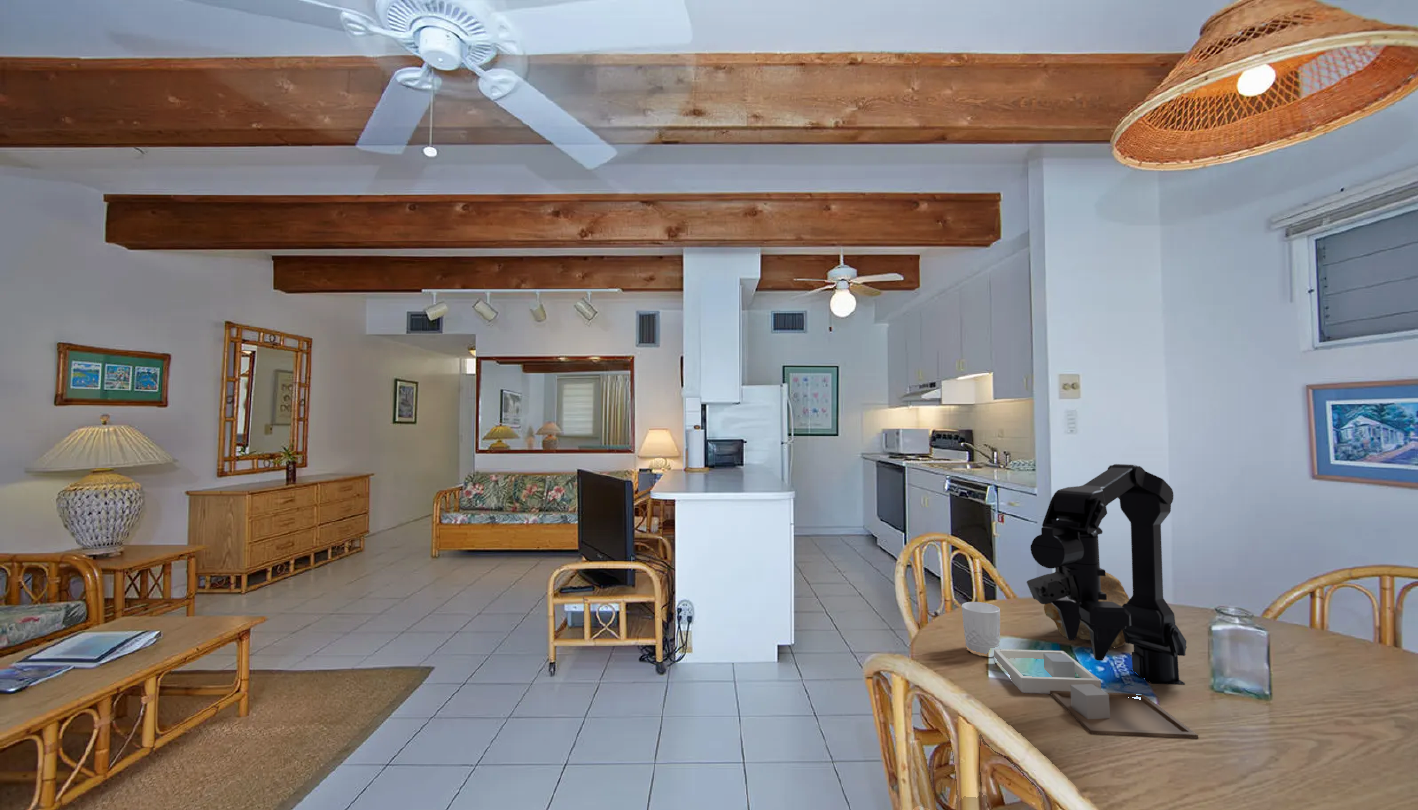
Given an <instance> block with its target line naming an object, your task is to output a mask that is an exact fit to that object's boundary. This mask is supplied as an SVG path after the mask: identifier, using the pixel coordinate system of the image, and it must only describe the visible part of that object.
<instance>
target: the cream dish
mask: <svg viewBox="0 0 1418 810" xmlns="http://www.w3.org/2000/svg"><path fill="white" fill-rule="evenodd" d="M1043 653H1050V654H1065V655H1066V656H1068V657H1069V658H1070V659H1071V660H1073V661H1074V663H1075V672H1076V674H1078V676H1079V677H1081V678H1065V677H1032V676H1023V675H1022V674H1021V673H1020V672H1019V671H1018V670H1017V669H1016V668H1015V667H1014V666H1013V665H1012V664H1011V663H1010V662H1009V661H1008V659H1010V658H1014V659H1015V658H1034V659H1044V655H1043ZM994 657H995V658H996V659H997V661H998V662H999V663H1000V664H1001V665H1002V667H1003V668H1004V669H1005V670H1006V671H1007V672H1008V674H1009V675H1010V678H1011V680H1012V681H1011V680H1010V681H1011V682H1012V683H1013V685H1015V687H1016V686H1017V687H1018V688H1017V687H1016V688H1017V689H1018V690H1019V691H1020V692H1021V693H1022V694H1024V693H1025V694H1049V695H1051V694H1050V691H1071V688H1070V685H1080V684H1093V685H1094V686H1096V687H1098V688H1099V689H1101V690H1102V683H1101V682H1102V680H1101V679H1100V678H1098V677H1097V676H1096V675H1095V674H1094V673H1092V672H1090V671H1089V670H1088V669H1087V668H1085V667H1084V666H1083V665H1082V664H1081V663H1079V662H1078V661H1077V660H1075V658H1073V657H1071V656H1070V655H1069V653H1066V651H1064V650H1040V649H1039V650H1038V649H1006V648H1005V649H1004V648H1003V649H1000V648H999V649H994ZM994 657H993V658H994ZM1007 658H1008V659H1007Z"/></svg>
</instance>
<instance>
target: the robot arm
mask: <svg viewBox="0 0 1418 810" xmlns="http://www.w3.org/2000/svg"><path fill="white" fill-rule="evenodd" d="M1116 499H1119V506H1120V509H1121V511H1122V512H1123V513H1122V514H1124V515H1125V517H1126V518H1127V520H1128V521H1129V522H1130V535H1131V536H1130V537H1131V538H1130V539H1131V540H1130V541H1131V542H1130V544H1131V573H1132V574H1131V575H1132V576H1131V577H1132V578H1131V579H1132V596H1131V597H1129V601H1128V602H1127V603H1126V604H1125V603H1124V604H1123V606H1120V605H1118V604H1116V603H1114V602H1104V601H1099V600H1107V595H1106V594H1105V593H1103V592H1101V583H1100V576H1106V575H1105V572H1106V570H1105V569H1104V568H1102V567H1101V565H1100V550H1099V549H1100V547H1099V544H1100V543H1099V535H1102V534H1103V529H1102V528H1101V527H1100V525H1101V522H1102V521H1103V520H1104V518H1105V516H1106V515H1107V514H1108V509H1107V506H1108V505H1109V504H1110V503H1112V502H1113V501H1115V500H1116ZM1173 502H1174V491H1173V488H1172V487H1171V485H1170V484H1168V483H1167V481H1165V479H1164V478H1162V477H1159V476H1157V475H1155V474H1153V473H1150V472H1148V471H1146V470H1145V469H1144V468H1143V467H1142V466H1140V465H1136V464H1121V463H1120V464H1119V463H1115V464H1113V465H1108V467H1107V469H1106V470H1105V471H1104V472H1102V473H1100V474H1099V475H1097V476H1096V477H1094V478H1092V479H1091V480H1089V481H1087V482H1086V483H1084V484H1083V485H1079V486H1078V485H1077V486H1068V487H1064V488H1060V489H1057V490H1056V491H1055V492H1054V493H1053V495H1052V497H1051V499H1050V502H1049V504H1048V507H1047V510H1046V513H1045V515H1044V519H1043V521H1042V524H1041V531H1040V532H1041V533H1040V534H1039V535H1036V536H1035V537H1034V538H1033V540H1032V542H1031V544H1030V553H1031V555H1032V558H1033V559H1034V561H1035V562H1036V563H1037V564H1038V565H1039V566H1041V567H1044V568H1046V569H1055V570H1054V571H1055V572H1051V573H1047V574H1043V575H1040V576H1037V577H1034V578H1030V579H1029V580H1027V581H1026V584H1027V586H1028V588H1029V591H1030V593H1031V595H1032V598H1033V599H1034V600H1035V601H1038V603H1040V604H1041V605H1045V604H1049V603H1052V604H1053V605H1054V606H1055V607H1056V608H1057V610H1058V613H1059V615H1060V618H1061V621H1062V624H1063V627H1064V630H1065V633H1066V635H1067V640H1068V641H1075V640H1076V638H1077V637H1076V636H1077V633H1078V629H1079V625H1080V621H1081V622H1082V623H1083V624H1084V625H1085V626H1086V627H1087V628H1088V629H1089V633H1090V639H1091V640H1090V643H1091V649H1092V653H1093V658H1094V660H1096V661H1104V659H1105V657H1106V656H1107V654H1108V652H1109V651H1110V649H1111V645H1112V643H1113V642H1114V640H1115V639H1116V637H1117V636H1118V634H1119V633H1120V632H1121V630H1122V631H1123V634H1124V638H1125V644H1130V645H1133V651H1132V652H1131V663H1132V664H1131V667H1132V668H1131V669H1133V671H1134V672H1136V673H1137V674H1138V675H1139V676H1140V677H1139V676H1138V675H1137V676H1138V677H1139V678H1141V677H1142V678H1145V680H1146V682H1147V683H1149V684H1153V685H1180V686H1183V685H1186V683H1185V682H1184V681H1183V680H1182V679H1180V673H1179V672H1180V670H1179V656H1181V657H1185V656H1186V650H1187V639H1186V638H1185V637H1184V635H1183V634H1182V632H1181V630H1180V628H1179V627H1178V626H1177V624H1176V619H1175V612H1173V609H1171V607H1170V606H1169V604H1168V603H1167V601H1166V600H1165V599H1164V585H1163V580H1164V579H1163V578H1164V577H1163V555H1162V554H1163V552H1162V551H1163V550H1162V548H1163V547H1162V527H1161V526H1162V524H1163V523H1164V522H1165V520H1166V518H1167V517H1168V516H1169V515H1170V513H1171V511H1172V503H1173ZM1081 618H1082V619H1081ZM1142 678H1141V679H1142ZM1145 680H1144V681H1145Z"/></svg>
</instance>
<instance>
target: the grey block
mask: <svg viewBox="0 0 1418 810" xmlns="http://www.w3.org/2000/svg"><path fill="white" fill-rule="evenodd" d="M1043 655H1044V669H1045V670H1046V671H1047V672H1048V673H1049V674H1050V675H1051V676H1052V677H1065V678H1075V663H1074V661H1073V660H1071V659H1070V658H1069V657H1068V656H1066V655H1065V654H1050V653H1043Z"/></svg>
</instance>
